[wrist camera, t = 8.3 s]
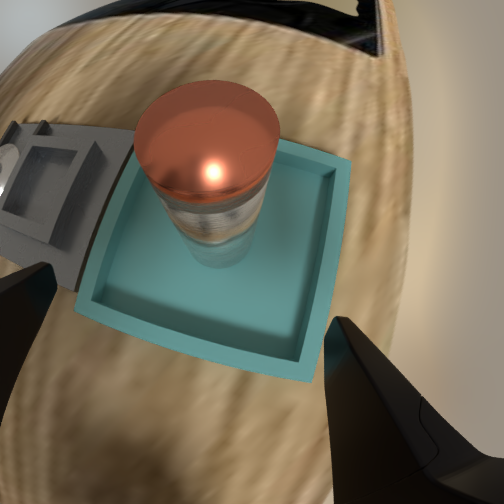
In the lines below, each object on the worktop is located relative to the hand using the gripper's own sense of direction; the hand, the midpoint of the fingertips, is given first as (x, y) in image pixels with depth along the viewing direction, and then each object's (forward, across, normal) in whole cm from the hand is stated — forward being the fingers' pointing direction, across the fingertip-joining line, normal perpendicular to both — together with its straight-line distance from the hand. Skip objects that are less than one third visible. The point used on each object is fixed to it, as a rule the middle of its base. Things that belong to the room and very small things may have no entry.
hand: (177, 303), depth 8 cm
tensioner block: (+11, +16, +2) cm, 19 cm away
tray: (+9, 0, +3) cm, 10 cm away
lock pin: (+9, 0, +2) cm, 9 cm away
